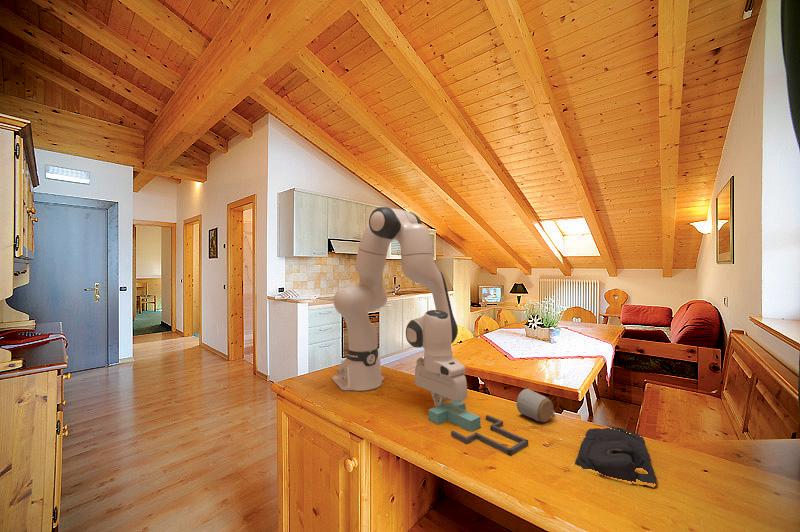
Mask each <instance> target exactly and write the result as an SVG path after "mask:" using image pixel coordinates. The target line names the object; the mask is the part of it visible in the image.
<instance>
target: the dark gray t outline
mask: <svg viewBox="0 0 800 532" xmlns="http://www.w3.org/2000/svg"><path fill="white" fill-rule="evenodd" d="M485 420H486V421H487V422H491V423H492V424H491V425H489V426H490V431H491V432H492V431H493V432H494V433H497V434H499V435H501V436H503V437H505V438H508V439H510V440H512V441H514V442H516V444H514V445H512V446H511V447H508V446H506V445H504V444H502V443H500V442H497V441H495V440H493V439H491V438H489V437H487V436H485V435H482V434H480V433H479V432H477V431H476V432H474V433H471V434H470V435H468V436H465V435H463V434H461V433H459V432H457V431H455V430H450V436H451V437H453V438H454V439H456V440H459V441H460V442H461V443H463V444H466V445H468V444H469V443H471V442H474V441H475V440H477V441H481V442H482V443H484V444H486V445H488V446H490V447H492V448H494V449H496V450H498V451H500V452H502V453H504V454H507V455H508V456H510V457H511V456H513V455H514V454H516V453H518V452H519V451H521V450H522V449H525V448H526V447H528V446H529V440H528V439H526V438H524V437H521V436H519V435H517V434H514V433H513V432H510V431H509V430H506V429H503V428H501V427H503V426H504V420H501V419H499V418H496V417H493V416H491V415H489V414H487V415H485Z"/></svg>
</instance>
